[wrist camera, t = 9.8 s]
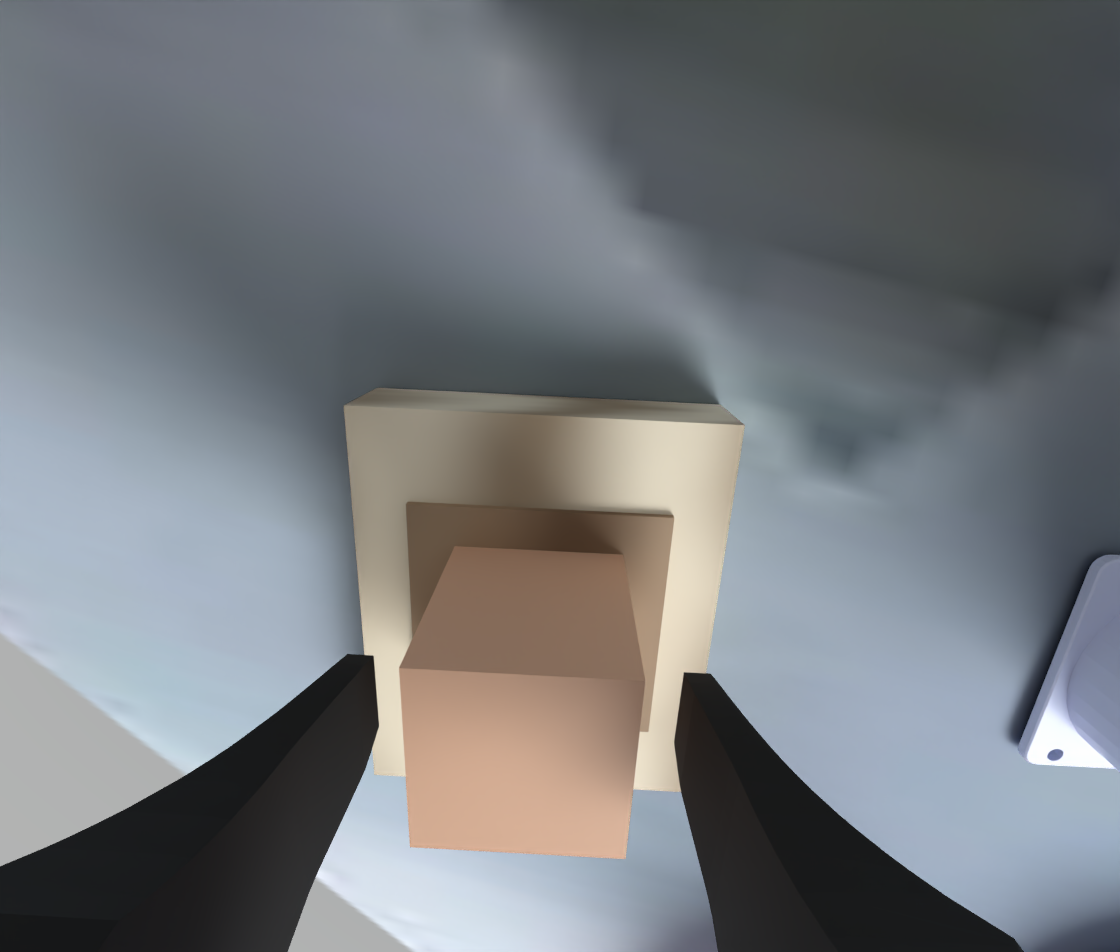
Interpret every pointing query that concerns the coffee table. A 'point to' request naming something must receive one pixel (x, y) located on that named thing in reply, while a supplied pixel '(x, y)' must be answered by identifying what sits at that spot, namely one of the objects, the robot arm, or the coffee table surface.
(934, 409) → the coffee table surface
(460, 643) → the terracotta cube
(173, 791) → the robot arm
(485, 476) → the birch base
